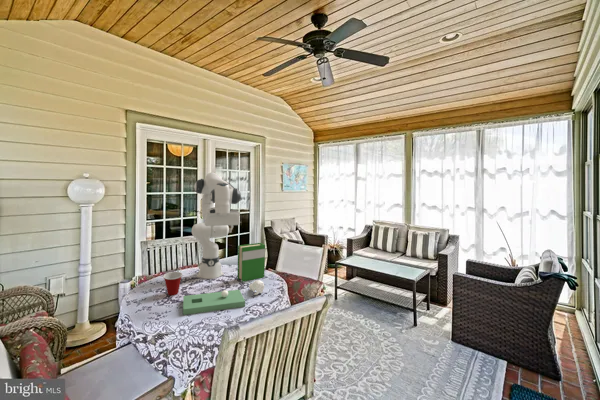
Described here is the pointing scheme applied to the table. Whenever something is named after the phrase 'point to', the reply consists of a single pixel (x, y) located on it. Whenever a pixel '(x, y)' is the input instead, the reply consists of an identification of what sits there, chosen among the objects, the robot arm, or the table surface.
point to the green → (212, 302)
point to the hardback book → (251, 261)
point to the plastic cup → (172, 282)
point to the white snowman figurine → (257, 287)
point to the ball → (224, 293)
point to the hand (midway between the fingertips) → (222, 232)
